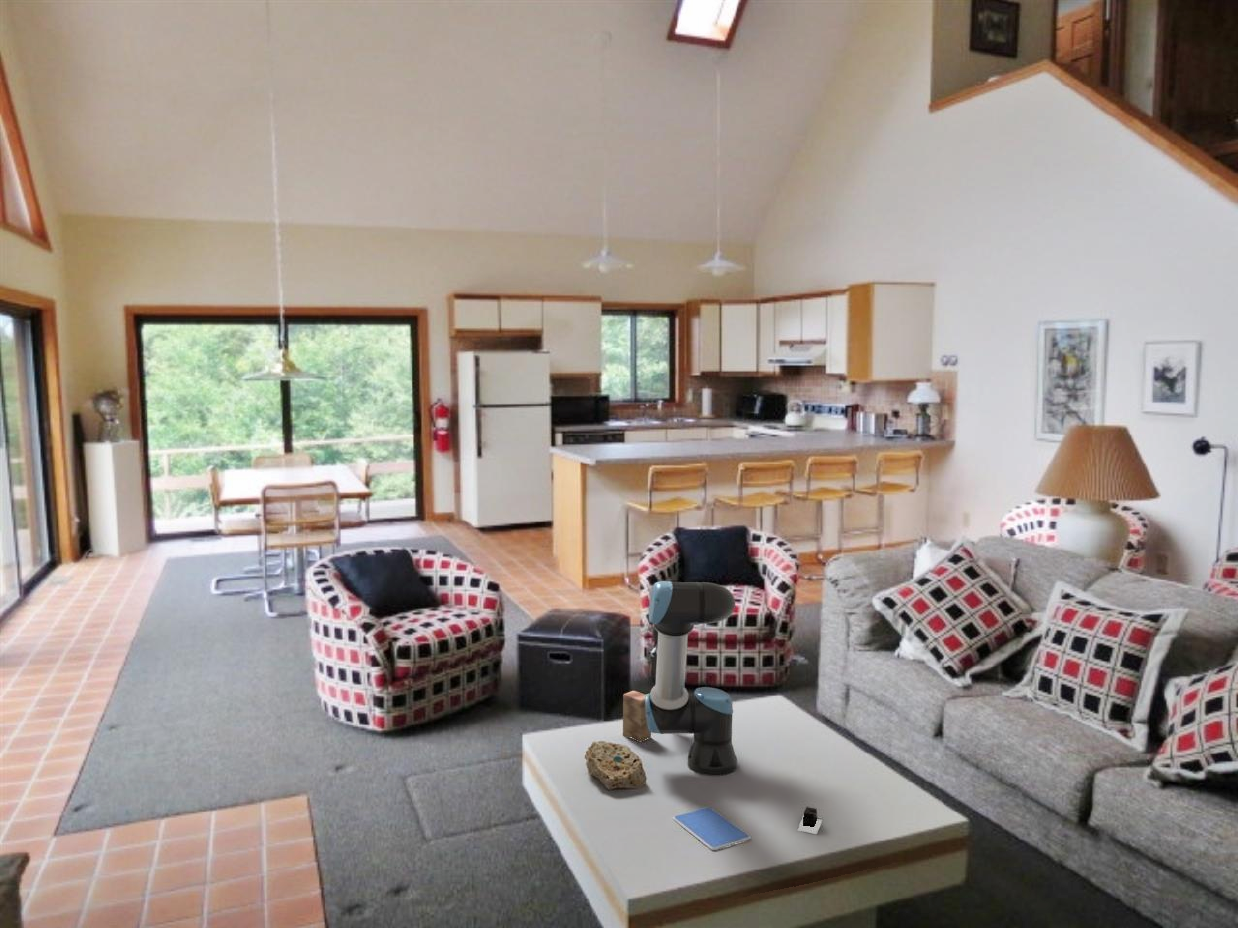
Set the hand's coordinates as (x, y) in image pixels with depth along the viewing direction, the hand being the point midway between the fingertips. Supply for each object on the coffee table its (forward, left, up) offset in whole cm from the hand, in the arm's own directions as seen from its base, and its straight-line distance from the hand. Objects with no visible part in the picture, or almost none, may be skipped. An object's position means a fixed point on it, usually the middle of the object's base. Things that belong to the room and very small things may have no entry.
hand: (662, 694), depth 312 cm
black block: (-72, +24, -11) cm, 77 cm away
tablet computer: (-54, +44, -11) cm, 71 cm away
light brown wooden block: (0, +13, -11) cm, 17 cm away
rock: (-14, +40, -11) cm, 44 cm away
